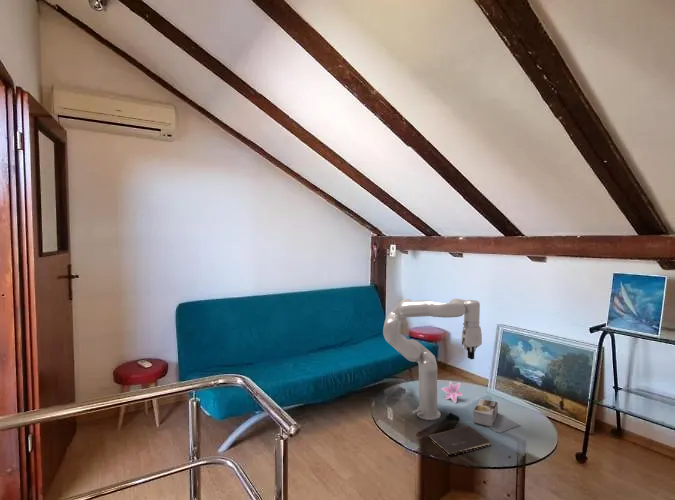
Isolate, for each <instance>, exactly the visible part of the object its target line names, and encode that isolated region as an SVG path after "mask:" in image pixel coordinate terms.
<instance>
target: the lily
mask: <svg viewBox="0 0 675 500" xmlns="http://www.w3.org/2000/svg"><path fill="white" fill-rule="evenodd" d="M448 383H449V384H448V386H443V387H441V390H442V391H443V392H444V393H446V396H445V399H444V400H448V399H451V401H452V402H453V404H456V403H457V400H458V397H460V396H463V395H464V394H463V392H461V391H460V387H461V383H462V382H457V383H455V384H453V382H452V381H451V380H450V381H448Z"/></svg>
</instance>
